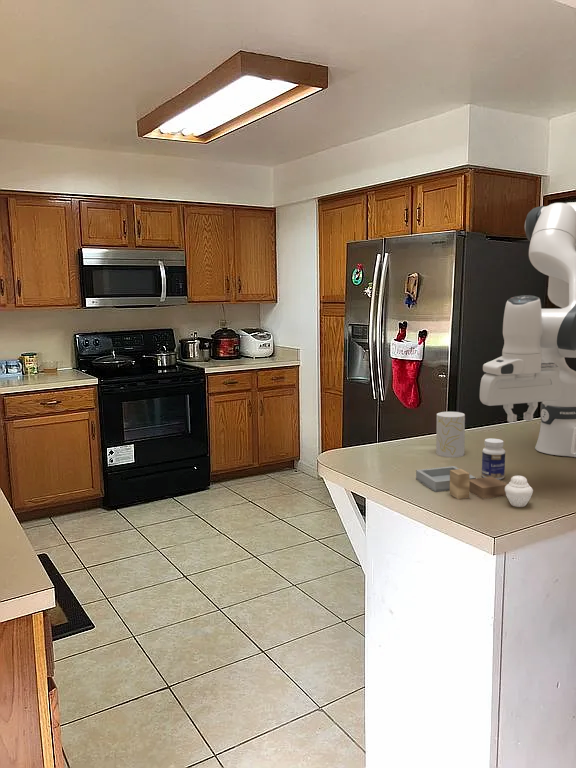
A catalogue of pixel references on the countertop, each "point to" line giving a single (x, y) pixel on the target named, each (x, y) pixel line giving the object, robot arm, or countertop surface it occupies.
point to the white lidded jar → (518, 491)
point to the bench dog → (459, 483)
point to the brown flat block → (487, 487)
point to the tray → (436, 478)
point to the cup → (450, 434)
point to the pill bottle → (493, 459)
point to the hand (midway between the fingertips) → (520, 420)
